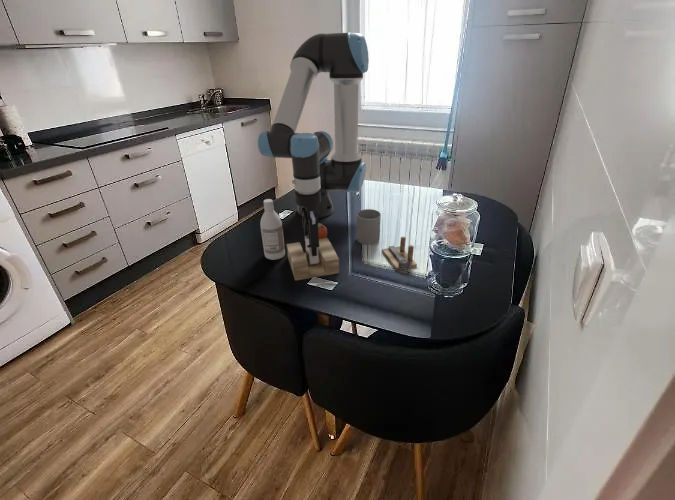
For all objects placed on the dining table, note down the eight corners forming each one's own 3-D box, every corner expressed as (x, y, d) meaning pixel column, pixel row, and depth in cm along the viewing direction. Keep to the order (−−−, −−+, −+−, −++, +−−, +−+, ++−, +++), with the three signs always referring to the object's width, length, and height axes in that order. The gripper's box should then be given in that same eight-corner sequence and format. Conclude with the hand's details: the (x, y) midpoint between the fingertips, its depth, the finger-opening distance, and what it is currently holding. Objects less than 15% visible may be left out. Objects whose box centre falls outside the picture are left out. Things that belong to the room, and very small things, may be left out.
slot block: (288, 257, 122) (286, 244, 119) (328, 251, 125) (327, 237, 122) (295, 280, 110) (293, 266, 107) (339, 272, 113) (338, 258, 110)
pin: (305, 261, 118) (303, 237, 113) (316, 259, 119) (315, 235, 114) (308, 267, 115) (306, 242, 110) (319, 265, 116) (317, 240, 111)
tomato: (331, 238, 132) (330, 218, 128) (322, 248, 127) (320, 227, 123) (313, 235, 135) (312, 215, 131) (303, 244, 129) (301, 224, 125)
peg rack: (382, 251, 123) (382, 236, 120) (401, 248, 125) (402, 233, 122) (397, 272, 113) (398, 255, 110) (418, 268, 114) (419, 252, 111)
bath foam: (288, 257, 122) (282, 202, 112) (268, 262, 119) (260, 206, 109) (281, 248, 127) (275, 194, 117) (262, 252, 125) (254, 198, 114)
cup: (378, 245, 127) (379, 220, 122) (355, 243, 129) (355, 218, 124) (380, 234, 134) (381, 209, 129) (358, 232, 136) (358, 208, 131)
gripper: (289, 180, 111) (295, 246, 123) (300, 203, 96) (306, 275, 107) (313, 178, 113) (317, 243, 124) (328, 200, 97) (330, 271, 109)
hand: (312, 258), depth 116 cm, fingers open, 5 cm apart
